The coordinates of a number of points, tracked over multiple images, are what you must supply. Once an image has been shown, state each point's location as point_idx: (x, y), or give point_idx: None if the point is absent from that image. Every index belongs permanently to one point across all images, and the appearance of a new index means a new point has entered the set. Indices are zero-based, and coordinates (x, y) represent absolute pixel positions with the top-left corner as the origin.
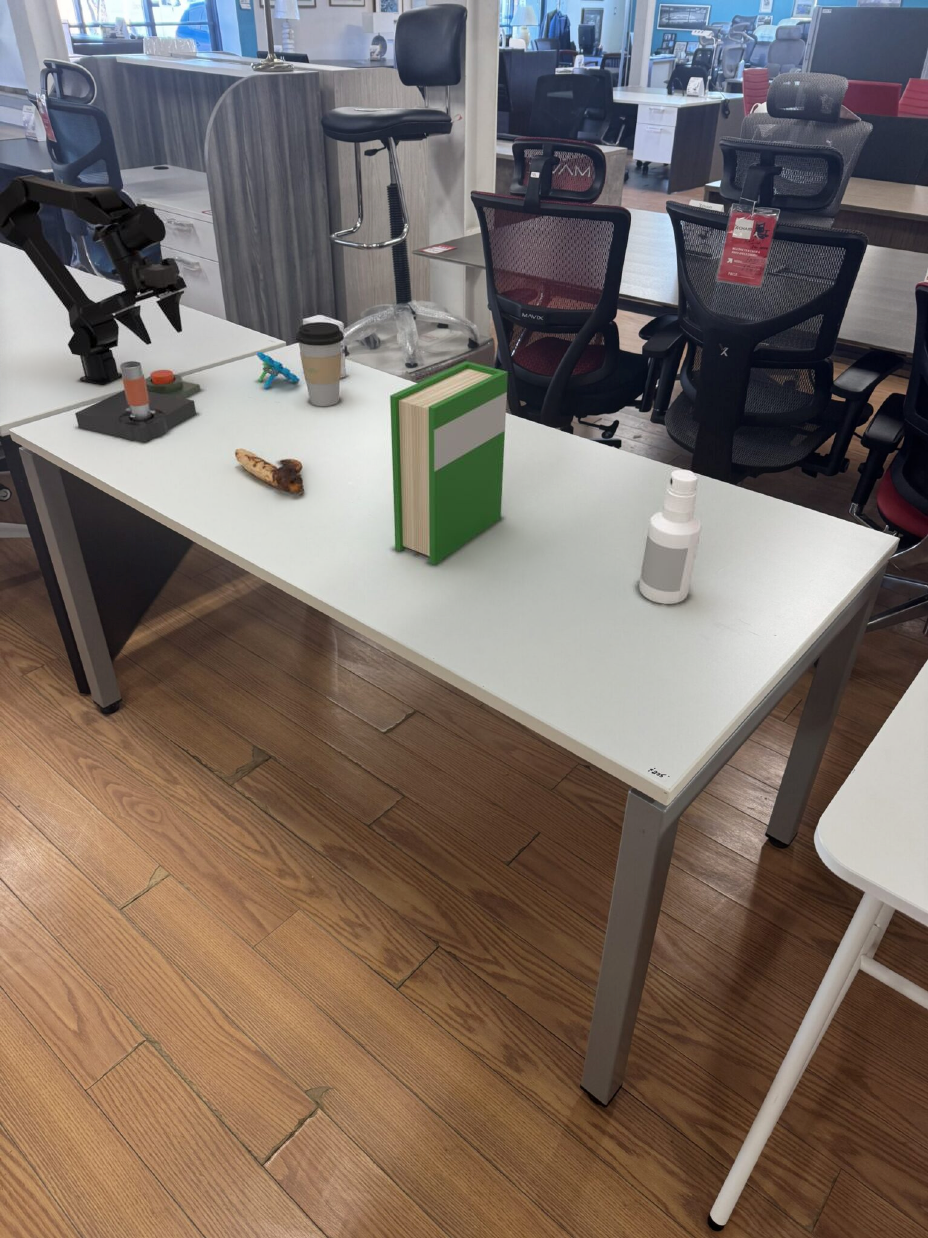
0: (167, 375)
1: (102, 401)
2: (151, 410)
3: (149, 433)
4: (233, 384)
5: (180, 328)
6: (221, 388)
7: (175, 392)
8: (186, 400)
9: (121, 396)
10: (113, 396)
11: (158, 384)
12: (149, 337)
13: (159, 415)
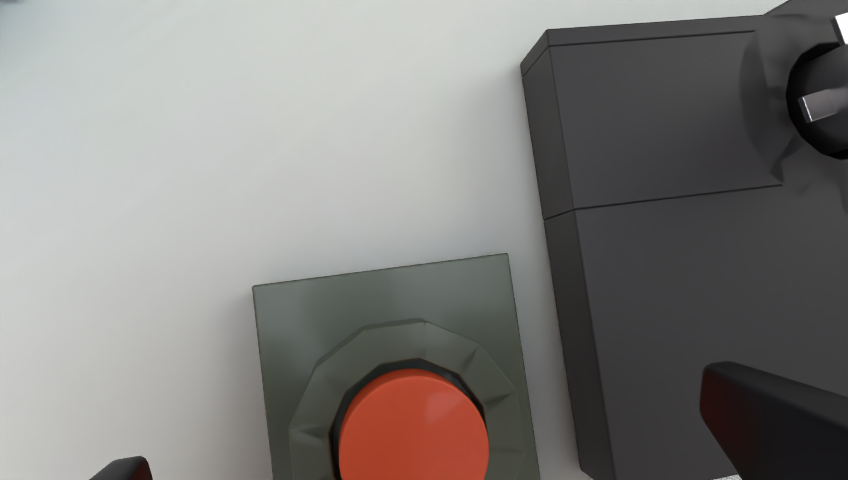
0: (426, 382)
1: None
2: (843, 34)
3: None
4: (65, 200)
5: (126, 471)
6: (159, 213)
7: (430, 305)
8: (569, 64)
9: None
10: None
11: (487, 393)
12: (757, 382)
13: (781, 38)
